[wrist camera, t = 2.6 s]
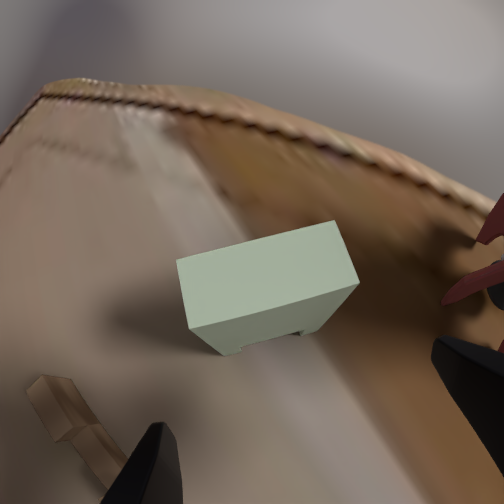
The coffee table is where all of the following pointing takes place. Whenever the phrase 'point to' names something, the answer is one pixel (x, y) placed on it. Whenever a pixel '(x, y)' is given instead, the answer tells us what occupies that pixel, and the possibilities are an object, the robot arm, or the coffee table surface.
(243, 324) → the green rectangular block
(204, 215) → the coffee table surface
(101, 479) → the notched wooden block
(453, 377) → the robot arm
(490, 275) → the toy
